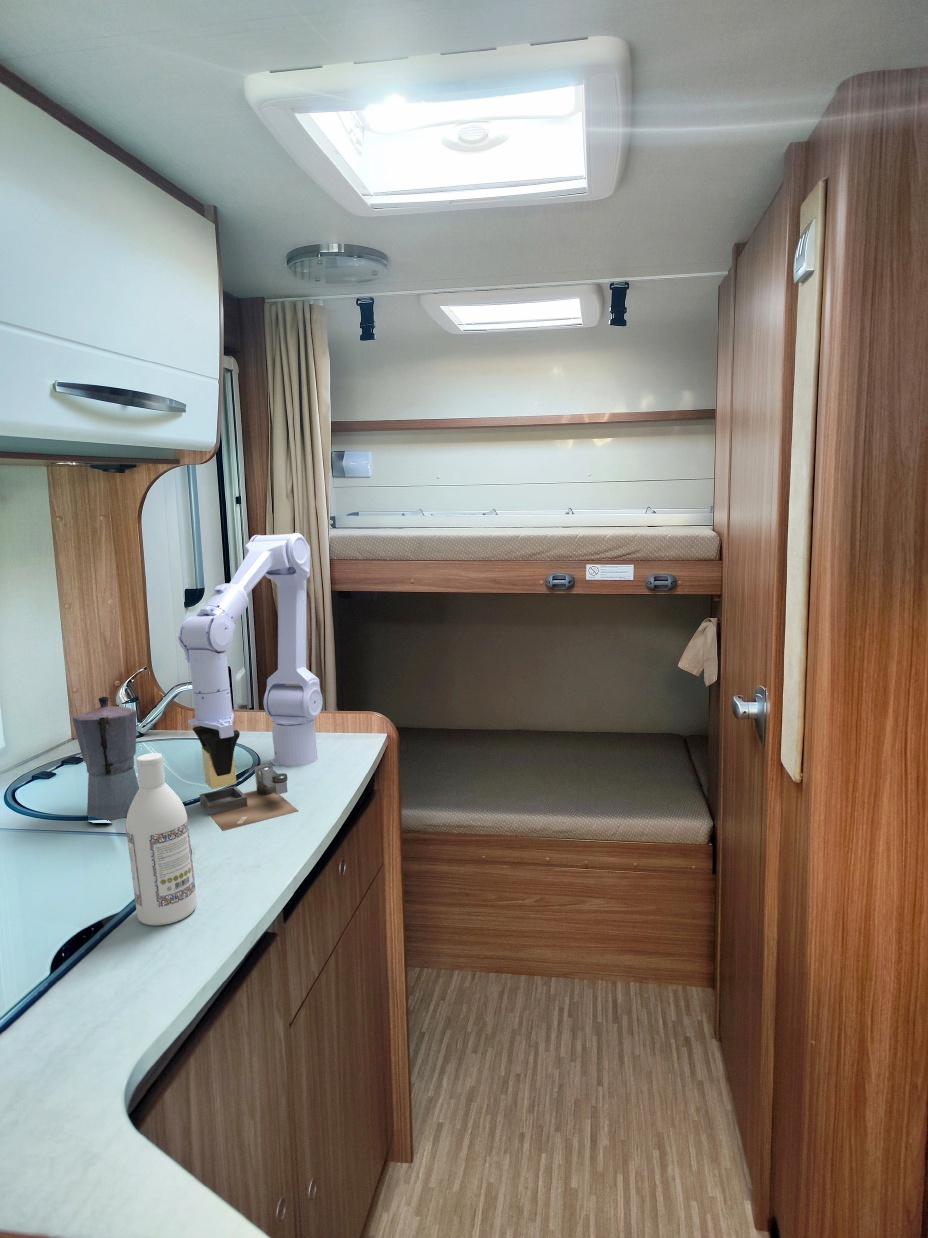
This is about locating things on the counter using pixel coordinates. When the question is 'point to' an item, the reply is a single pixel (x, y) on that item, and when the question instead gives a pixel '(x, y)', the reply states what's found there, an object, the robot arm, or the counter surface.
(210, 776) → the block
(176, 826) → the bath foam
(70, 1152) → the counter surface
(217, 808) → the base
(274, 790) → the crank
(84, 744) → the moka pot
